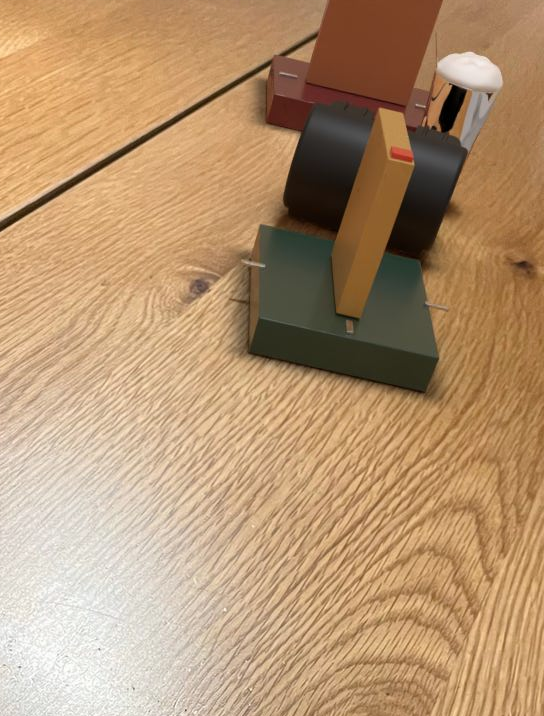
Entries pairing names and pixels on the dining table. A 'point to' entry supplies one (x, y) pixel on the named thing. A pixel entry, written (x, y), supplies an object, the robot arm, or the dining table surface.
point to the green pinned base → (336, 331)
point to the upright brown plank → (373, 46)
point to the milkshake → (462, 96)
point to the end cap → (341, 164)
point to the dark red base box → (323, 97)
